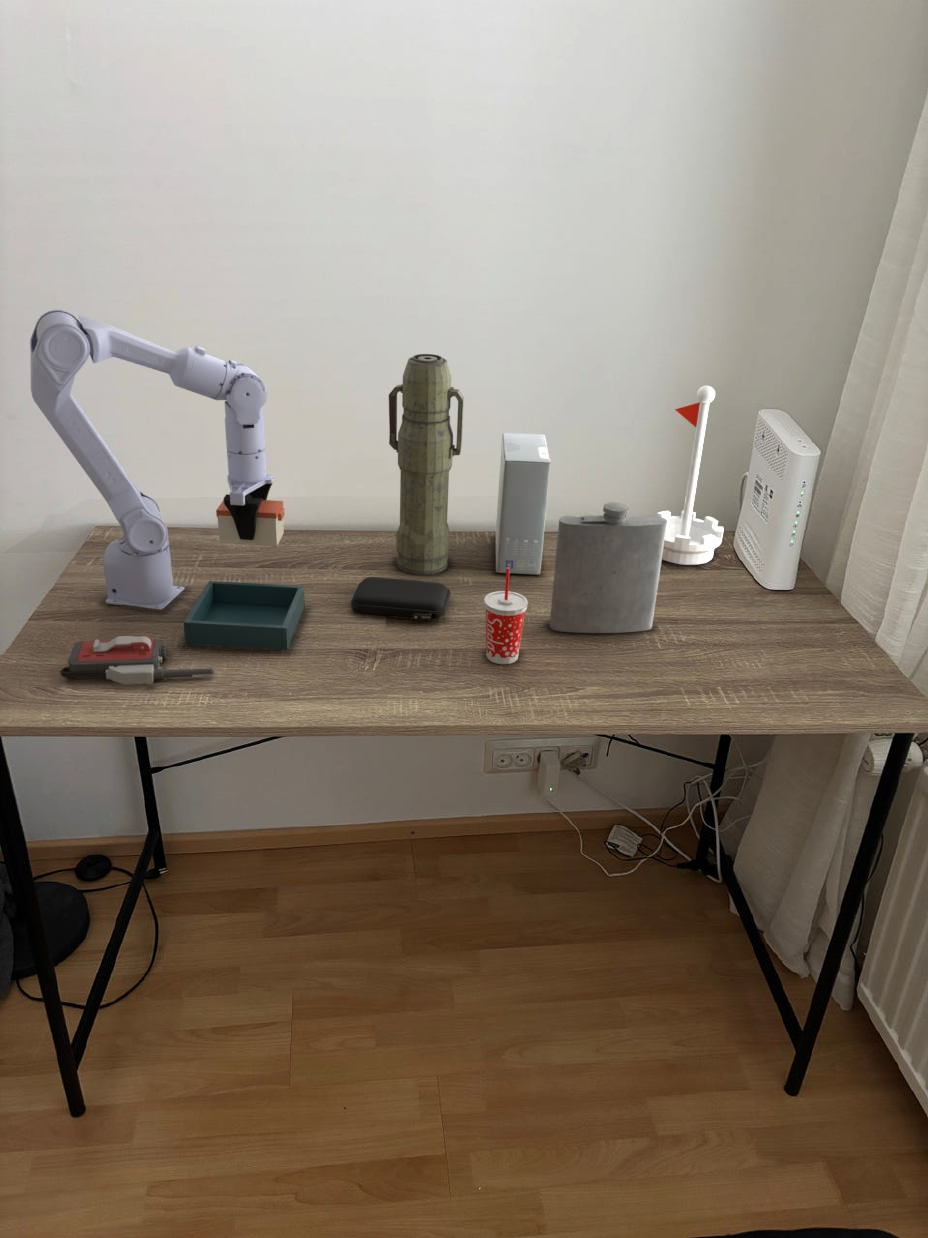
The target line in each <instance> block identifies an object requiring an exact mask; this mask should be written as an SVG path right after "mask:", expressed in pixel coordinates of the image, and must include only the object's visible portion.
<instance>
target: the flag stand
mask: <svg viewBox="0 0 928 1238" xmlns="http://www.w3.org/2000/svg"><path fill="white" fill-rule="evenodd" d="M715 397H716V390H715V389H714V388H713V387H712V386H710V385H703V386H701V387H700V388H698V390H697V393H696V398H697V400H698V401H699V402H696V403H693V404H688V405H685V406H682V407H679V408H675V409H674V411H676V412H677V413H678V414H679V415H680V416H681V417H683V418H684V419H685V420H686V421H687V422H689V424H691V425H692V426H693V427H694V428H695V434H694V439H693V440H694V441H693V447H692V453H691V459H690V465H689V472H688V478H687V484H686V491H685V498H684V504H683V510H681V513H680V515H672V512H671V511H670V510H662V511H659V512H657V513H656V516H658V517H662V518H665V519H666V520H667V526H666V533H665V540H664V547H663V554H662V561H665V562H669V563H673V564H678V565H685V566H696V565H702V564H706V563H708V562H709V561H711V560H712V559H713V557H714V552H715V549H716V548H718V547H720V545H721V544H722V541H723V535H724V526H719V520H717V519H715V518H714V517H712V516H705V517H704V520H703V519H700V518H696V514H697V513H696V512H695V511H694V503H695V497H696V491H697V484H698V477H699V472H700V471H699V470H700V466H701V459H702V453H703V445H704V440H705V434H706V428H707V420H708V415H709V414H708V413H709V408H710V403H712V402H713V401H714V399H715Z"/></svg>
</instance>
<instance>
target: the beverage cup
mask: <svg viewBox="0 0 928 1238" xmlns="http://www.w3.org/2000/svg"><path fill="white" fill-rule="evenodd" d="M510 574H511V573H510V568H509V567H507V569H506V573H505V586H504V590H498V591H493V592H490V593H488V594H486V595H485V597H484V599H483V603H484V604H483V606H484V608H485V647H486V648H485V649H486V650H485V655H486V658H487V660H489V661H490V662H492V663H494V664H499V665H508V664H509V665H511V664H513V663H515V662H516V661H518V659H519V653H520V646H521V640H522V634H523V627H524V621H525V613H526V611H527V609H528V604H529V600H528V599H527V597H525V596H524V595H522V594H521V593H518V592H514V591H510V589H509V587H510Z"/></svg>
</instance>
